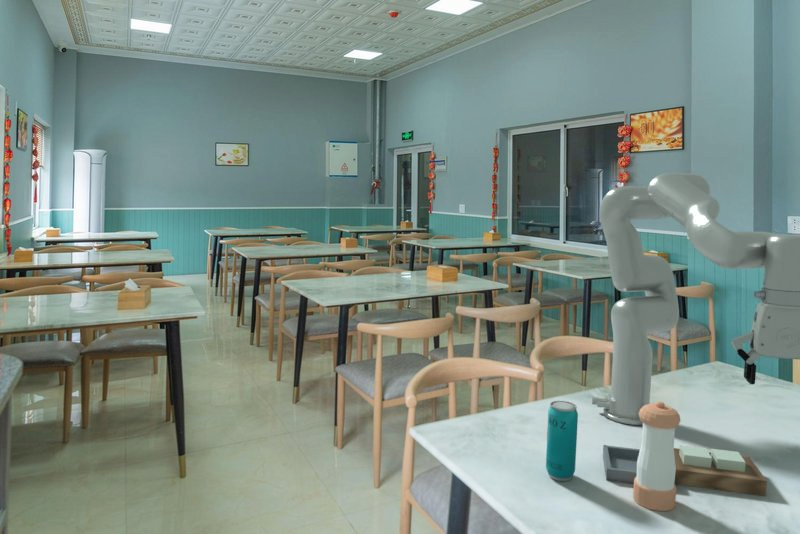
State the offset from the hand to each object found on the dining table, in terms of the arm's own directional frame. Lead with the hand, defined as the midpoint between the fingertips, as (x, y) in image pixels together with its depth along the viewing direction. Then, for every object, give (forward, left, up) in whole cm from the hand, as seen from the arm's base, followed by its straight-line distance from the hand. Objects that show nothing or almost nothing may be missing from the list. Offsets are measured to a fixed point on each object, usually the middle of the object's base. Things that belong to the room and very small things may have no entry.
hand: (777, 384), depth 113 cm
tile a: (-8, 0, -17) cm, 19 cm away
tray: (-25, -2, -20) cm, 32 cm away
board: (-10, 0, -20) cm, 23 cm away
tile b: (-14, 0, -17) cm, 22 cm away
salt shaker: (-23, -14, -21) cm, 34 cm away
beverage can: (-40, -9, -21) cm, 46 cm away
